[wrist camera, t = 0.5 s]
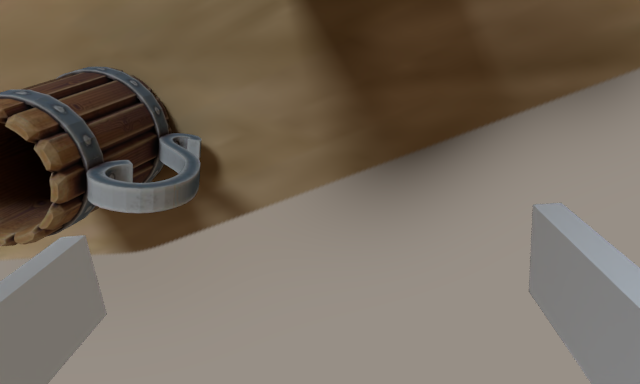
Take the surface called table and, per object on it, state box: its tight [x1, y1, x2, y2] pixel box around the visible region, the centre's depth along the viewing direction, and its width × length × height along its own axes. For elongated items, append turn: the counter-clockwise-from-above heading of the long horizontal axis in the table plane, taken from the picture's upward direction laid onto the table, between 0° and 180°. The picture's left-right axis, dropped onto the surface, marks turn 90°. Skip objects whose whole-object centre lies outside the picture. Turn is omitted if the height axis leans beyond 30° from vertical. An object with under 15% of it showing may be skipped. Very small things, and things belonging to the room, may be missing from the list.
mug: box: [0, 67, 201, 246], centre depth 34 cm, size 16×11×15 cm
